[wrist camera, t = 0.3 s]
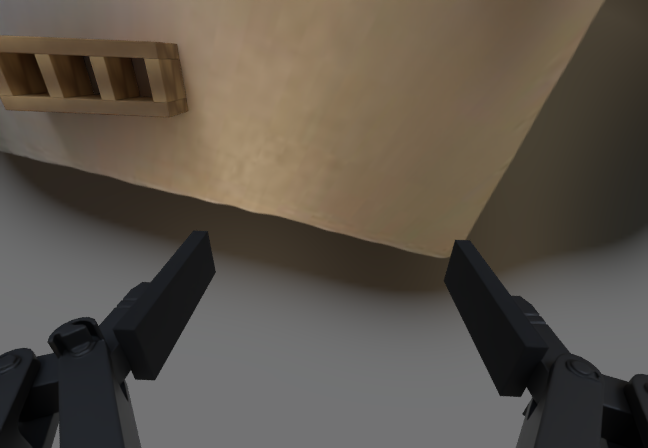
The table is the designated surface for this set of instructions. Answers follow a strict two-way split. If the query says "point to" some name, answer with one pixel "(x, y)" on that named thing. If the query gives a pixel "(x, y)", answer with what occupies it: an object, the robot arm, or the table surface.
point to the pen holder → (73, 80)
